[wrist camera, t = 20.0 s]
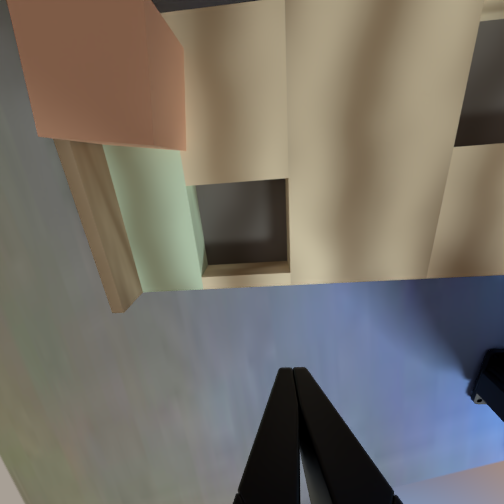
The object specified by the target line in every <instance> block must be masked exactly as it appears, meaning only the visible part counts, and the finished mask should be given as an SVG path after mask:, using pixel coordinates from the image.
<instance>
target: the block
mask: <svg viewBox="0 0 504 504" xmlns="http://www.w3.org/2000/svg"><path fill="white" fill-rule="evenodd" d="M7 3H8V8H9V12H10V16H11V21H12V25H13V29H14V34H15V38H16V42H17V47H18V51H19V55H20V60H21V64H22V68H23V73H24V77H25V81H26V86H27V90H28V94H29V99H30V103H31V107H32V112H33V116H34V120H35V125H36V129H37V134H38V137H46V138H54V139H62V140H70V141H78V142H86V143H95V144H103V145H114V146H127V147H140V148H153V149H166V150H179V151H186V115H185V76H184V48H183V46H182V45H181V44H180V42H179V41H178V39H177V38H176V36H175V35H174V33H173V32H172V30H171V29H170V27H169V26H168V24H167V23H166V21H165V20H164V18H163V17H162V15H161V14H160V12H159V11H158V10H157V8H156V7H155V5H154V4H153V2H152V1H151V0H7Z"/></svg>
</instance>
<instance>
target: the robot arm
mask: <svg viewBox="0 0 504 504" xmlns="http://www.w3.org/2000/svg"><path fill="white" fill-rule="evenodd" d="M471 400H472V401H473V402H474V403H475V404H487V405H488V406H489V407H490V408H491V409H492V410H493V411H494V412H495V413H496V414H497V415H498V416H499V417H500V419H501V420H502V421H503V422H504V349H492V350H489V351H488V352H487V353H486V355H485V358H484V361H483V364H482V366H481V369H480V372H479V375H478V378H477V380H476V383H475V386H474V389H473V392H472V395H471ZM300 454H301V459H302V464H303V469H304V473H305V478H306V483H307V488H308V492H309V497H310V502H311V504H403V503H402V501H401V500H400V499H399V497H398V496H397V495H394V491H393V489H392V488H391V486H390V485H389V483H388V482H387V481H386V479H385V478H384V476H383V475H382V474H381V472H380V471H379V469H378V468H377V467H376V465H375V464H374V462H373V461H372V460H371V458H370V457H369V455H368V454H367V453H366V451H365V450H364V448H363V447H362V446H361V444H360V443H359V441H358V440H357V439H356V437H355V436H354V434H353V433H352V431H351V430H350V429H349V427H348V426H347V424H346V423H345V422H344V420H343V419H342V417H341V416H340V415H339V413H338V412H337V410H336V409H335V408H334V406H333V405H332V403H331V402H330V401H329V399H328V398H327V396H326V395H325V394H324V392H323V391H322V389H321V388H320V387H319V385H318V384H317V382H316V381H315V380H314V378H313V377H312V375H311V374H310V372H309V371H308V370H307V369H306V368H305V367H294V368H293V370H292V368H290V367H287V368H280V369H279V370H278V373H277V376H276V379H275V382H274V385H273V388H272V391H271V394H270V397H269V399H268V402H267V405H266V408H265V411H264V414H263V417H262V420H261V423H260V426H259V429H258V432H257V435H256V438H255V441H254V444H253V446H252V449H251V452H250V455H249V458H248V461H247V464H246V467H245V470H244V473H243V476H242V479H241V482H240V485H239V488H238V493H237V494H236V496H235V499H234V502H233V504H300Z"/></svg>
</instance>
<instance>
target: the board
mask: <svg viewBox="0 0 504 504" xmlns="http://www.w3.org/2000/svg"><path fill="white" fill-rule="evenodd" d="M6 2H7V0H6ZM7 5H8V3H7ZM160 14H161V15H162V17H163V18H164V20H165V21H166V23H167V24H168V26H169V27H170V29H171V30H172V32H173V33H174V35H175V36H176V38H177V39H178V41H179V42H180V44H181V45H182V46H183V48H184V76H185V115H186V151H179V150H166V149H153V148H140V147H127V146H114V145H103V144H95V143H86V142H78V141H70V140H62V139H54V138H53V140H54V143H55V146H56V149H57V152H58V155H59V158H60V161H61V163H62V166H63V169H64V172H65V175H66V178H67V181H68V184H69V187H70V190H71V193H72V196H73V199H74V202H75V205H76V208H77V210H78V213H79V216H80V219H81V222H82V225H83V228H84V231H85V234H86V237H87V240H88V243H89V246H90V249H91V252H92V254H93V257H94V260H95V263H96V266H97V269H98V272H99V275H100V278H101V281H102V284H103V287H104V290H105V293H106V296H107V298H108V301H109V304H110V307H111V310H112V313H124V312H125V311H126V310H127V309H128V308H129V307H130V306H131V305H132V303H133V302H134V301H135V300H136V299H137V298H138V297H139V296H140V295H141V294H142V293H143V292H157V291H178V290H199V289H220V288H241V287H262V286H283V285H304V284H324V283H345V282H366V281H387V280H408V279H429V278H450V277H471V276H492V275H504V0H259V1H251V2H243V3H236V4H228V5H220V6H212V7H204V8H196V9H189V10H181V11H173V12H165V13H160Z"/></svg>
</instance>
